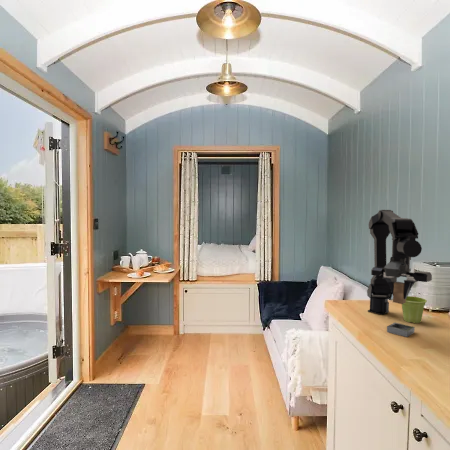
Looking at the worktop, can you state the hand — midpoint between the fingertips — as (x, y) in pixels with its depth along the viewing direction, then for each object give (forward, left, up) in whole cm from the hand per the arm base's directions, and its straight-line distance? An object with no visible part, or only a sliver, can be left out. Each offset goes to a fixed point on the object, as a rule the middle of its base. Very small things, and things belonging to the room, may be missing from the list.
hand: (399, 297), depth 127 cm
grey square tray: (+1, -1, -12) cm, 12 cm away
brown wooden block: (0, 0, -2) cm, 2 cm away
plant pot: (-1, +16, -12) cm, 21 cm away
